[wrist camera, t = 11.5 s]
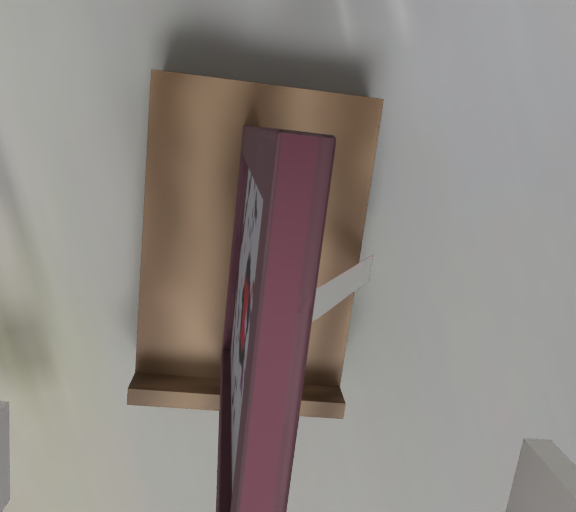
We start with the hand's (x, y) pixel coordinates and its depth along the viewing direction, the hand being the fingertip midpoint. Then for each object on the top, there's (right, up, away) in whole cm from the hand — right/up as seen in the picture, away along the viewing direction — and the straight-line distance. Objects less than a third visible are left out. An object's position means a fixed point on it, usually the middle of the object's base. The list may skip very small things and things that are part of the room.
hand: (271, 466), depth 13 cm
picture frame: (+1, +5, +23) cm, 24 cm away
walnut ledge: (-2, +7, +27) cm, 28 cm away
